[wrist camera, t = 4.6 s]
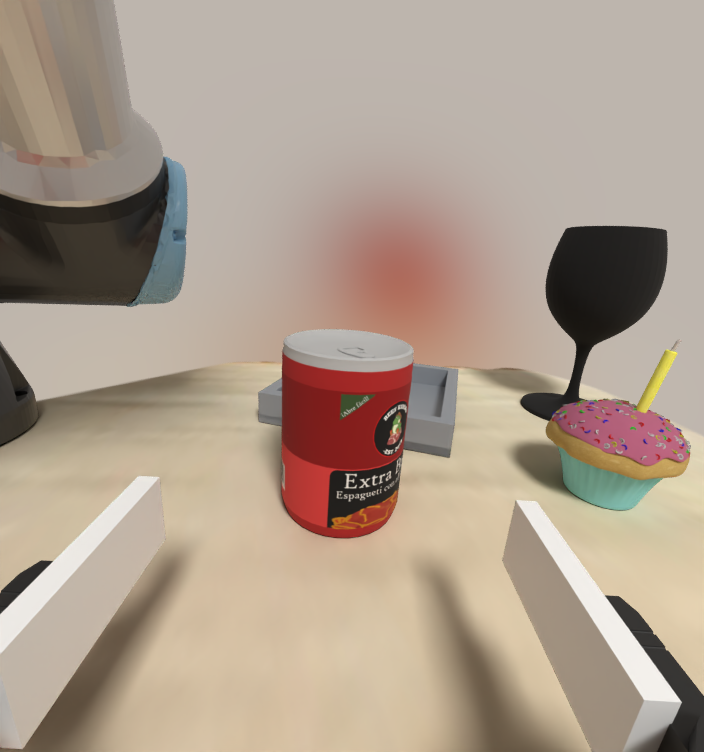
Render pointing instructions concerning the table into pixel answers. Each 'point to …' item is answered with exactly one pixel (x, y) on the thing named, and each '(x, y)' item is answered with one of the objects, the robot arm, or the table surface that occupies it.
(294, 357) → the canned food
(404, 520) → the table surface
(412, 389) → the tray
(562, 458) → the cupcake
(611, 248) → the wine glass
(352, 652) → the table surface
